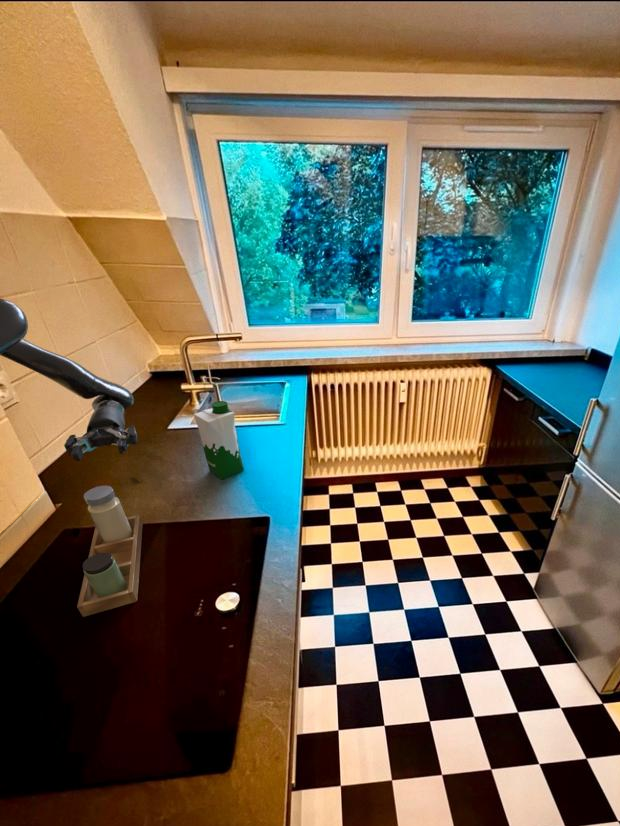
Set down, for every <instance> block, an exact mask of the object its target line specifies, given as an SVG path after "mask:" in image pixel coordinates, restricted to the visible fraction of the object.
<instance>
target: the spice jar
mask: <svg viewBox="0 0 620 826" xmlns="http://www.w3.org/2000/svg"><path fill="white" fill-rule="evenodd" d="M88 557H89V556H88ZM82 569H83V573H84V575H86V577H87V579H88V581H89V582H90V584H91V586H92V588H93V590H94V591H95V593H96V595H97V597H98V598H101V597H105V596H109V595H112V594H116V593H119V592H123V591H126V590H127V583H126V581H125V579H124V577H123V575H122V573H121V571H120V569H119V567H118V565H117V563H116V561H115V559H114V558H113V557H112V555H111V554H109V553H98V554H95V555H93V556H91V557H89V558H86V559H85V560H84V561H83V563H82Z"/></svg>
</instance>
